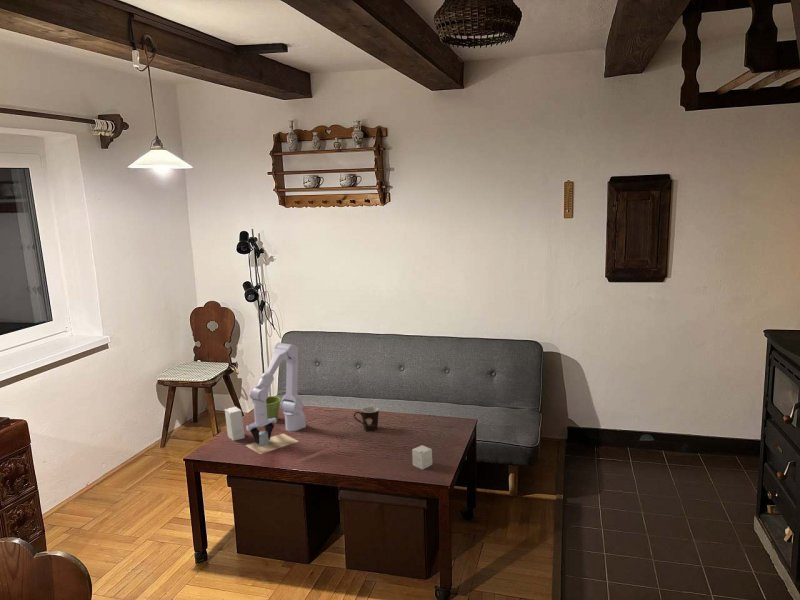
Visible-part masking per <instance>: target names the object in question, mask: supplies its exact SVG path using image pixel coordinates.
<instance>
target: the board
mask: <svg viewBox="0 0 800 600" xmlns="http://www.w3.org/2000/svg"><path fill="white" fill-rule="evenodd" d="M296 443H299V440H297V439H295V438H293V437H291V436H289V435H287V434H285V433H280V434H277V435H273V436H270V440H269V443H268V444H267V445H264V446H259V445H257V443H256V442H252V443H248V444H246V445H244V446H245V447H247V448H249V449H250V450H252V451H254V452H255V453H256V454H259V455H263V454H266V453H268V452H271V451H272V452H273V451H274V450H278V449H280V448H283V447H286V446H289V445H292V444H296Z"/></svg>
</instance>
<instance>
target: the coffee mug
mask: <svg viewBox="0 0 800 600" xmlns="http://www.w3.org/2000/svg"><path fill="white" fill-rule="evenodd" d="M379 413H380V409H379V407H376V406H366V407H362V408H361V409H360V411H356V412H354V414H353V417H354V419H355V420H356V421H357V422H359V423H361V424H362V425H363V429H364V431H365V430H366V431H365V432H367V431H373V432H376V431H378V428H379V427H378V424H379V415H380V414H379ZM356 414H360V415H361V418H362V421H361V420H359V419H358V418H357V417H356ZM375 430H376V431H375Z"/></svg>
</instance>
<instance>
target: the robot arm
mask: <svg viewBox="0 0 800 600" xmlns="http://www.w3.org/2000/svg"><path fill="white" fill-rule="evenodd" d="M272 354H273V356H272V358H271V360H270V363H269V365H268V368H267V370H266V372H263V373H262V374H261V376H260V378H259V380H258V382H257V384H256V386H255V387H254V388H252V389H251V391H250V393H249V397H250V400H251V403H252V404H253V413H254V414H253V415H254V422H252V423H250V424H249V425H248V424H247V425H246V426H245V428H246V431H248V432H250V433H251V434H252V437H253V439H254V441H255V442H256V443H257V444H259V432H260V430H258V429H259V428H261V427H264V431H267V432H268V437H269V440H270V437H272V431H273V429H274V427H275V424H276V423H277V421H276V418H270V419H267V406H266V399H267V398H268V397H269V392H270V388H271V386H272V384H273V382H274V380H275V379H274V375H275V373H276V371H277V370H278V368H279V366H280V365H281V363H282V362H284V361H285V362H286V372H285V374H286V378H285V380H286V382H285V384H286V385H285V394H284V395H283V396H282V397H281V401H280V410H281V411H282V412H283V415H284V425H285V430H286V431H288V432H296V431H299V430H302V429H304V428H306V427H307V422H306V414H305V412H304V411H303V407H304V406H303V401H302V400H303V398H302V397H301V396H300V395H299V393H298V380H299V378H298V375H299V347H298V346H296V345H295V344H291V343H283V342H277V343H276V344H275V346H274V348H273V350H272Z"/></svg>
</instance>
